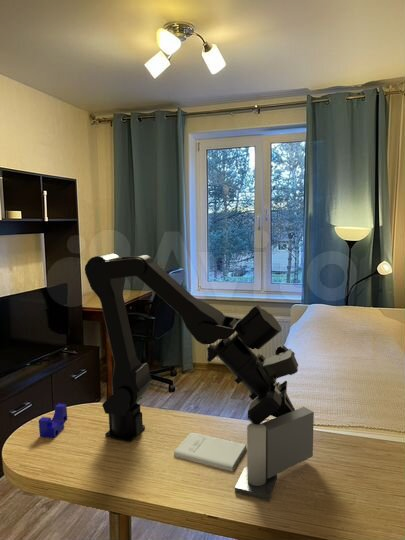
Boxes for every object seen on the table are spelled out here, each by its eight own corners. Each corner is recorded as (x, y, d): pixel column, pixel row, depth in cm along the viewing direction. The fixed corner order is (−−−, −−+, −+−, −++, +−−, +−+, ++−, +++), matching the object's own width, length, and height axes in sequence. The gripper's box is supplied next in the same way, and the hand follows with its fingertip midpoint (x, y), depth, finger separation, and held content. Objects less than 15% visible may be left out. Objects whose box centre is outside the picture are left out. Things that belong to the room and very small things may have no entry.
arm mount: (234, 492, 70) (234, 487, 70) (244, 472, 76) (244, 467, 76) (269, 501, 68) (269, 496, 68) (277, 479, 73) (277, 474, 73)
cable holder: (54, 439, 88) (53, 421, 88) (40, 437, 89) (38, 420, 89) (73, 420, 96) (72, 404, 96) (59, 419, 97) (58, 403, 96)
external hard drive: (232, 474, 76) (173, 458, 81) (246, 451, 83) (191, 437, 89) (232, 466, 76) (173, 450, 81) (246, 443, 83) (191, 430, 88)
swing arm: (243, 478, 72) (243, 426, 71) (301, 450, 80) (302, 403, 79) (255, 488, 69) (255, 434, 68) (314, 458, 77) (315, 410, 76)
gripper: (267, 353, 69) (333, 424, 68) (277, 324, 87) (329, 379, 85) (221, 392, 72) (283, 460, 71) (240, 356, 90) (290, 409, 89)
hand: (299, 423), depth 79 cm, fingers closed
